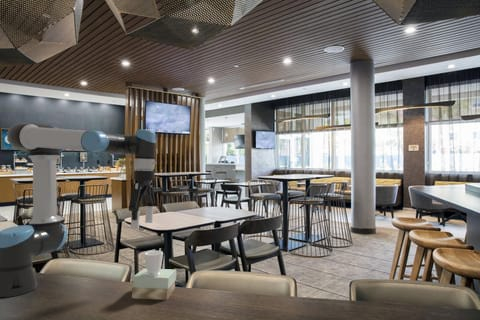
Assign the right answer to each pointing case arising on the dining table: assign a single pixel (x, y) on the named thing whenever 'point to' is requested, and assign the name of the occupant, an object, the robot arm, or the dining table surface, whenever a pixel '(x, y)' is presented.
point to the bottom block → (152, 293)
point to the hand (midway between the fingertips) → (142, 225)
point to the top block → (155, 279)
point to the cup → (153, 262)
